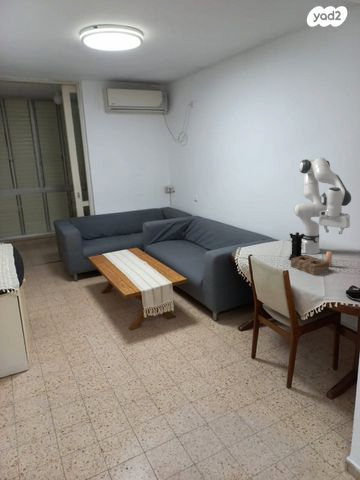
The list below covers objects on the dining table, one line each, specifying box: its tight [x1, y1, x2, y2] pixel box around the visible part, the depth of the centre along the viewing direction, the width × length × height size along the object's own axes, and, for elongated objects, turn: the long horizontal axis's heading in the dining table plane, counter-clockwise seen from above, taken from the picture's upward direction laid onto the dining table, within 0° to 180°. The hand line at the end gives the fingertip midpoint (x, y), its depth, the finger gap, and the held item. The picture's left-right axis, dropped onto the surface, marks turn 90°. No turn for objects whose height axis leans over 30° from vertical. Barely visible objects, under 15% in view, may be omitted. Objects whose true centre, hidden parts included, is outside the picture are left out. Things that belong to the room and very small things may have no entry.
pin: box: [325, 251, 333, 268], centre depth 227 cm, size 4×4×10 cm
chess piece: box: [287, 231, 304, 261], centre depth 242 cm, size 8×8×20 cm
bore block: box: [290, 254, 330, 276], centre depth 226 cm, size 20×14×6 cm
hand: (333, 233), depth 219 cm, fingers open, 8 cm apart
